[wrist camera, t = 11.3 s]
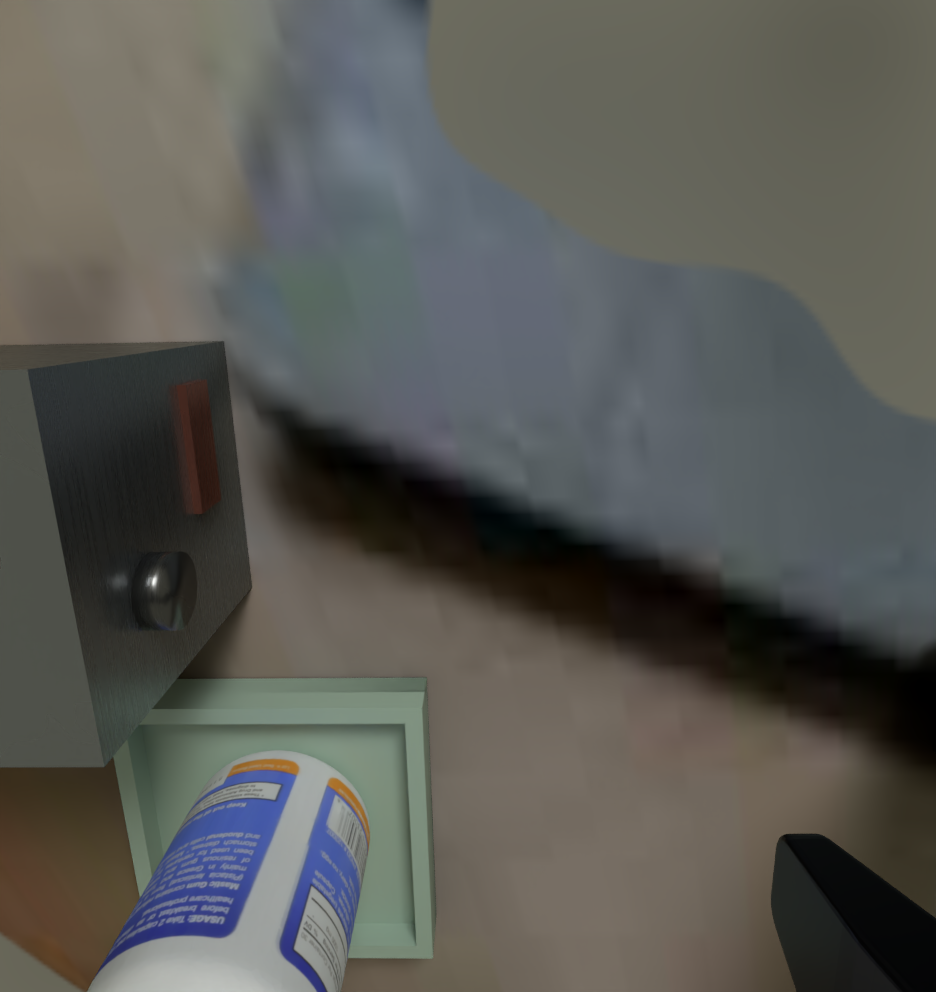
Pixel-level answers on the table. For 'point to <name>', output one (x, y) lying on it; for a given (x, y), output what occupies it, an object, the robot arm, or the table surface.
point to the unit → (110, 537)
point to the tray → (317, 733)
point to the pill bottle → (251, 886)
